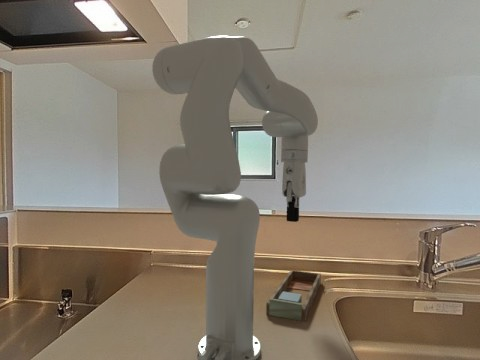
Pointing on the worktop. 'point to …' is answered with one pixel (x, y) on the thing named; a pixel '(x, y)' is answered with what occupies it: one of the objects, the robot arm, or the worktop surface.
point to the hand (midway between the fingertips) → (292, 221)
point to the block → (291, 297)
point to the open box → (294, 309)
